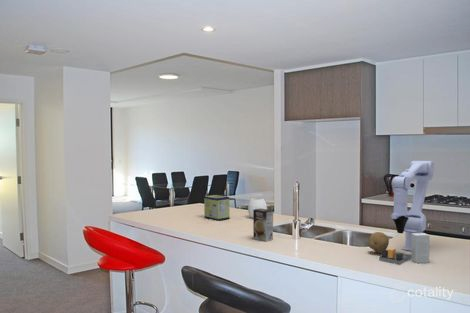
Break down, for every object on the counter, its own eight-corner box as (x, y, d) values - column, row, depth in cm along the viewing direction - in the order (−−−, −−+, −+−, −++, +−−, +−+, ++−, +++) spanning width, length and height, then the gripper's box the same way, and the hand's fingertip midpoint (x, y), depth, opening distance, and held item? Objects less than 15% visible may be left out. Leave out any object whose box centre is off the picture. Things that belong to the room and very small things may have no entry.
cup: (249, 216, 288) (249, 197, 288) (267, 216, 286) (267, 197, 286) (247, 219, 275) (247, 199, 275) (266, 219, 273) (266, 200, 273)
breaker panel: (392, 254, 185) (392, 246, 185) (411, 258, 179) (412, 249, 179) (379, 260, 176) (379, 251, 176) (399, 264, 170) (399, 255, 170)
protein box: (215, 216, 289) (215, 194, 288) (230, 219, 277) (229, 196, 277) (203, 218, 282) (203, 196, 281) (218, 221, 270) (218, 198, 270)
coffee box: (252, 239, 218) (252, 209, 217) (260, 237, 223) (260, 208, 222) (266, 241, 212) (266, 211, 211) (273, 239, 216) (273, 209, 216)
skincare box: (424, 260, 176) (424, 232, 176) (429, 262, 172) (429, 235, 172) (410, 260, 176) (411, 233, 176) (415, 263, 172) (415, 235, 172)
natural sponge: (374, 256, 182) (374, 234, 182) (364, 251, 191) (364, 230, 191) (392, 255, 184) (392, 233, 184) (381, 250, 193) (381, 229, 193)
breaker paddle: (391, 255, 177) (391, 248, 177) (395, 256, 175) (395, 248, 175) (387, 257, 175) (387, 249, 174) (392, 258, 173) (392, 250, 173)
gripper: (402, 205, 175) (402, 236, 175) (416, 202, 185) (415, 232, 185) (386, 203, 180) (386, 234, 180) (400, 201, 190) (400, 229, 190)
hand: (400, 232), depth 183 cm, fingers closed
